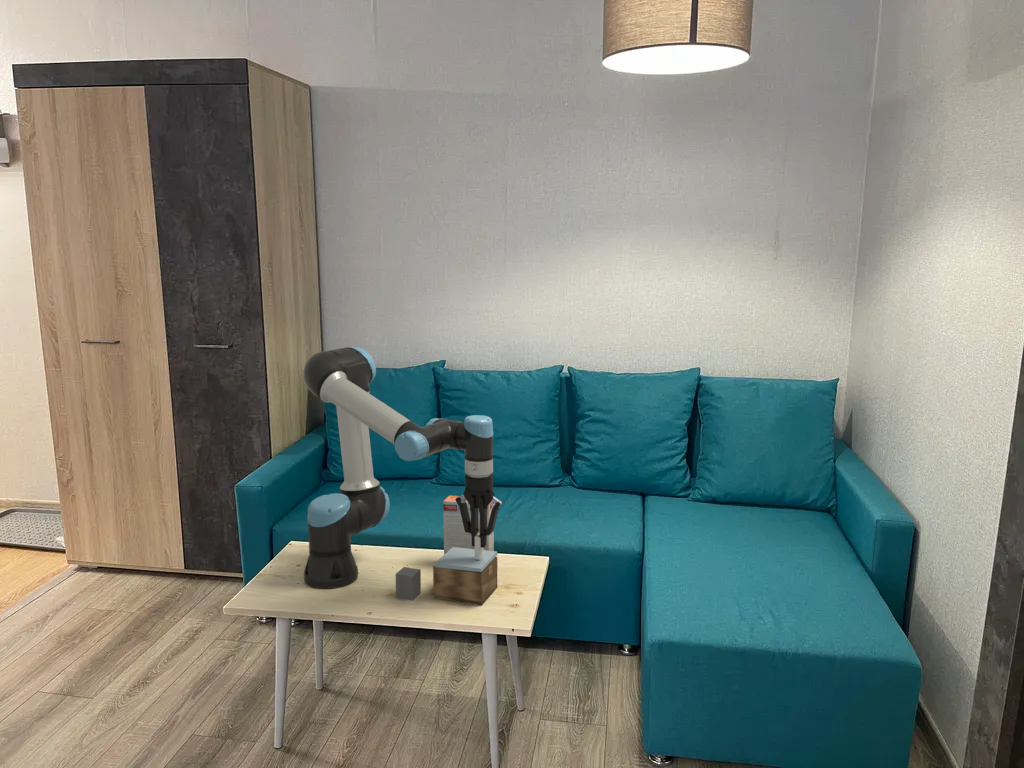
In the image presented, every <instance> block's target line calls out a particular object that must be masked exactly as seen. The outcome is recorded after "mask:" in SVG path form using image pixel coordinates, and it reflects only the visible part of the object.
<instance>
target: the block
mask: <svg viewBox="0 0 1024 768" xmlns="http://www.w3.org/2000/svg"><path fill="white" fill-rule="evenodd" d="M421 574H422V573H421V569H420V568H414V567H408V566H407V567H406V566H403V567H402V568H401V569H400V570H399V571H397V572H396V573H395V599H398V600H406V601H412V602H413V601H415V600H416V599H417V598H418V596H420V595H421V593H422V585H421V584H422V583H421V582H422V581H421Z"/></svg>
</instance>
